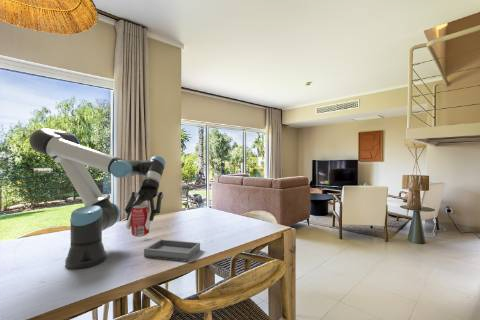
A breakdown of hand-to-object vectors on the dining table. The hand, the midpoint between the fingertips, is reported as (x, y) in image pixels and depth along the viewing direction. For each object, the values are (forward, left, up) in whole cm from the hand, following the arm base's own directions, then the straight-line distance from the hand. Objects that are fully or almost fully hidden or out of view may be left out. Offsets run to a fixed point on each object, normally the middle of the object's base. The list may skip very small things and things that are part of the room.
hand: (137, 227), depth 97 cm
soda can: (-1, +3, -4) cm, 6 cm away
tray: (+5, +21, -18) cm, 28 cm away
